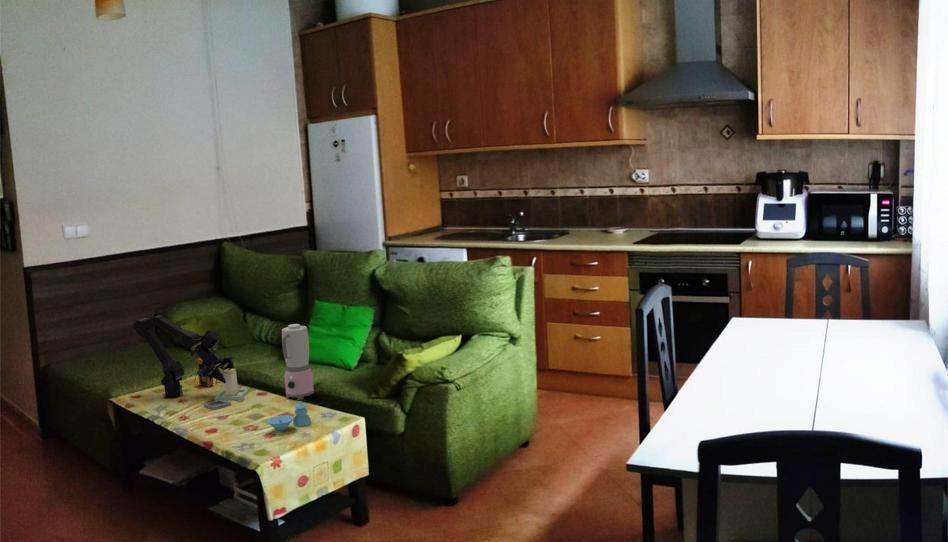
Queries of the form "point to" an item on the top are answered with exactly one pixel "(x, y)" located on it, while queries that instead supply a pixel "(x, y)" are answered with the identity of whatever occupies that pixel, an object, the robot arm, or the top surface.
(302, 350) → the blender
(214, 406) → the small gray square tray
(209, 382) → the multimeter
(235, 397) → the parts tray
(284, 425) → the blue small pieces
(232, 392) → the block
